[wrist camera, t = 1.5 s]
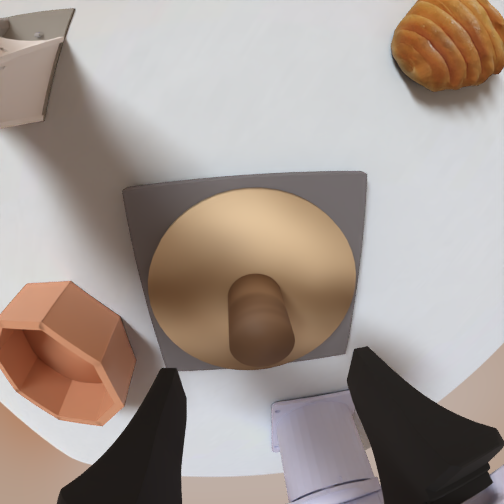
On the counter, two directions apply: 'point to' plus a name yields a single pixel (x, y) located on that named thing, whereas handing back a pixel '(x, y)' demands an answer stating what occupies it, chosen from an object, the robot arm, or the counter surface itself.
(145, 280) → the mat
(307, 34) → the counter surface
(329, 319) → the lid
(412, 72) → the pastry
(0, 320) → the bowl
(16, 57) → the skyscraper
